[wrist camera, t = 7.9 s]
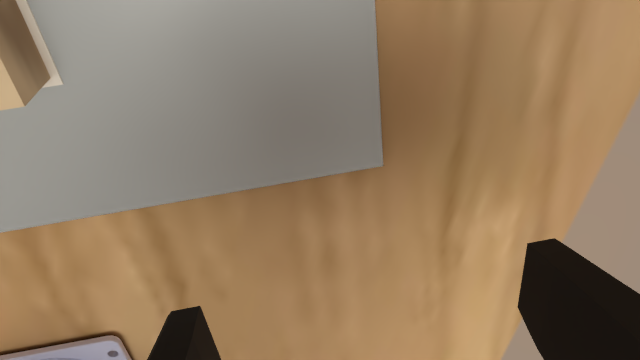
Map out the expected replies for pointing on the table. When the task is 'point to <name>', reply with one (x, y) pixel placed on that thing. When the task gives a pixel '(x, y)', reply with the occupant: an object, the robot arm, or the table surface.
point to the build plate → (187, 103)
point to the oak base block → (18, 59)
